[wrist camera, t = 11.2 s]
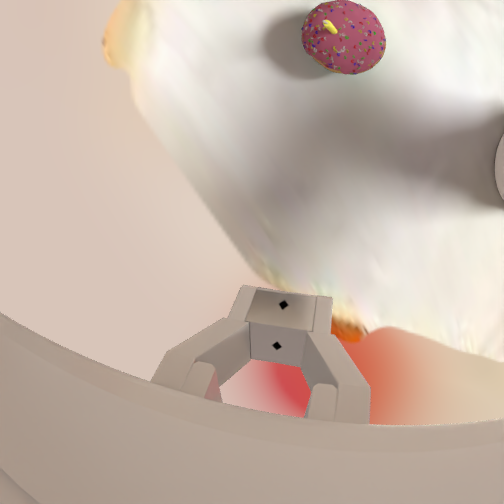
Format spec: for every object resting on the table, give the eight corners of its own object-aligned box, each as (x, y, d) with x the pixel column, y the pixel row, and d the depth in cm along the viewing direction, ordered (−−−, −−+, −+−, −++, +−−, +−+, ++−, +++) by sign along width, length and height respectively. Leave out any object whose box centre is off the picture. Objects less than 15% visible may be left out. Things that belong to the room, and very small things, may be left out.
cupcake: (303, 69, 30) (292, 67, 20) (305, 4, 25) (296, -25, 15) (376, 80, 28) (399, 84, 19) (380, 15, 23) (404, -9, 14)
